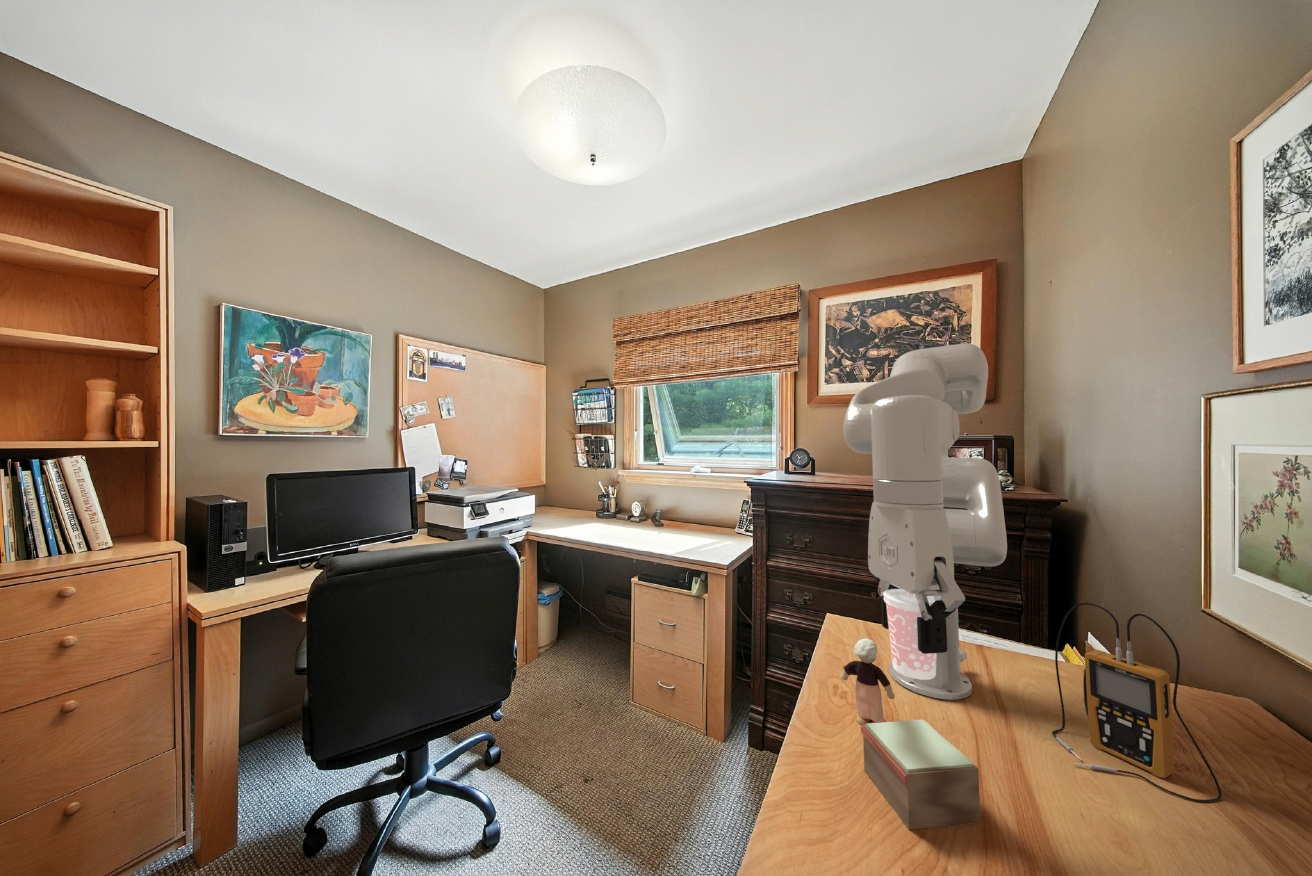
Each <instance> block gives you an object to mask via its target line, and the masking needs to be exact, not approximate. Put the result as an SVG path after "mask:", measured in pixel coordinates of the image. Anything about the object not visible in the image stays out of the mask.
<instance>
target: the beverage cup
mask: <svg viewBox="0 0 1312 876" xmlns="http://www.w3.org/2000/svg"><path fill="white" fill-rule="evenodd" d="M883 596H884V601H885V602H886V607H887V617H888V626H889V629H888V634H889V643H890V644H889V645H890V655H891V656H890V657H891V662H892V665H893V668H894V669H895V670H896V671H897V672H899V673H901V674H902V675H904V676H907V677H911V678H914V679H920V680H929V679H932V678H934V677H935V676H936V655H937V653H930V654H923V653H922V652H920V651H919V650H918V633H917V617H922V616H921V613H920V609H919V606H918V602H917V599H916V595H915V594H911V593H908V592H906V591H904V590H902V589H890V590H886V591H884V592H883ZM883 596H882V597H883ZM927 599H928V602H929V606H930V605H932V604H933V603H934V602H935V600H934V596H927Z"/></svg>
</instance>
